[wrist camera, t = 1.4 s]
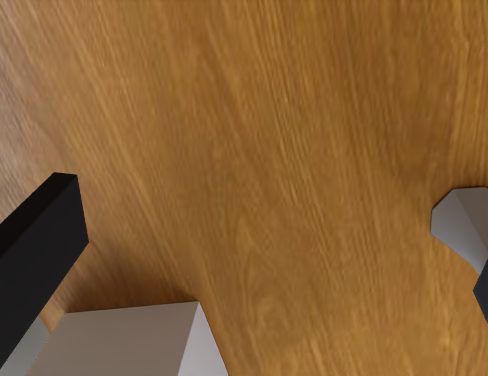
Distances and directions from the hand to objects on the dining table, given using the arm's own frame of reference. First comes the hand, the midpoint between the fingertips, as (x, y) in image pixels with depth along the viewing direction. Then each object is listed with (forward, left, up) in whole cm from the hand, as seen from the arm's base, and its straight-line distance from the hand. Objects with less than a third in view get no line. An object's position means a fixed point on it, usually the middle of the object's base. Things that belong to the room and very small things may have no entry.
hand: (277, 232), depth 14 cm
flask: (+14, +19, -27) cm, 36 cm away
